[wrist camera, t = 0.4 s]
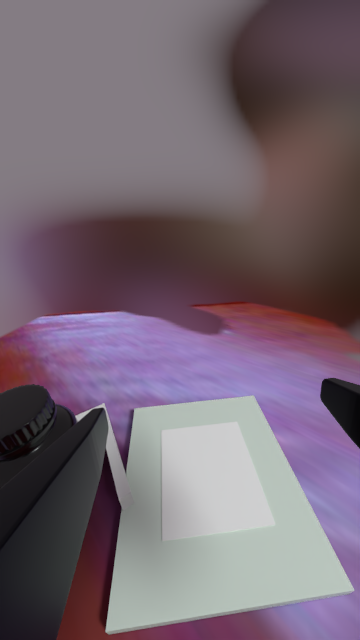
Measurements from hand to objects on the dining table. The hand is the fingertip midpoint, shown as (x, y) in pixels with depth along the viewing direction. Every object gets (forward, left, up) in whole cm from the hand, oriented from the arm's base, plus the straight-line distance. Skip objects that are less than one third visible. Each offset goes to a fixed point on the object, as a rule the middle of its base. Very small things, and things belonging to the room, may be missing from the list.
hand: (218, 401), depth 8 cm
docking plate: (+5, 0, -16) cm, 17 cm away
